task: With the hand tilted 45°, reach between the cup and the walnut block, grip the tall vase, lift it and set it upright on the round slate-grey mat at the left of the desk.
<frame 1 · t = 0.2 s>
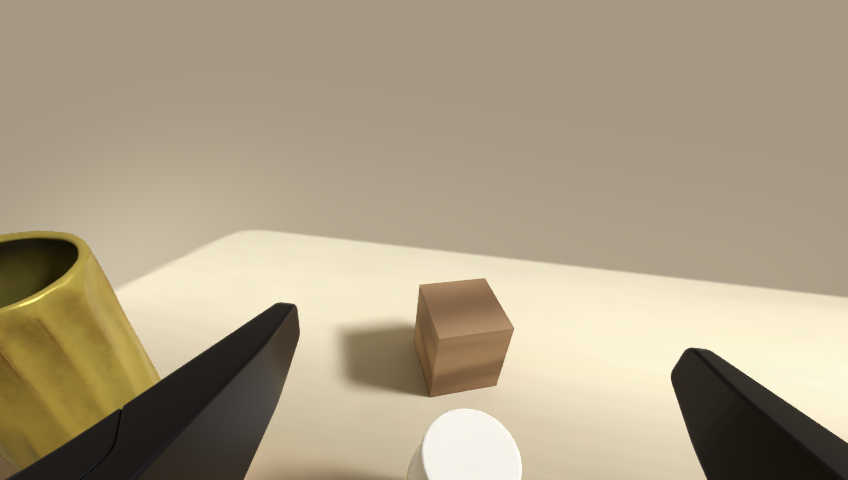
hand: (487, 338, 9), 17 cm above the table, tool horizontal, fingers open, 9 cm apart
walnut block: (452, 362, 28), on the table
vase: (136, 478, 20), on the table
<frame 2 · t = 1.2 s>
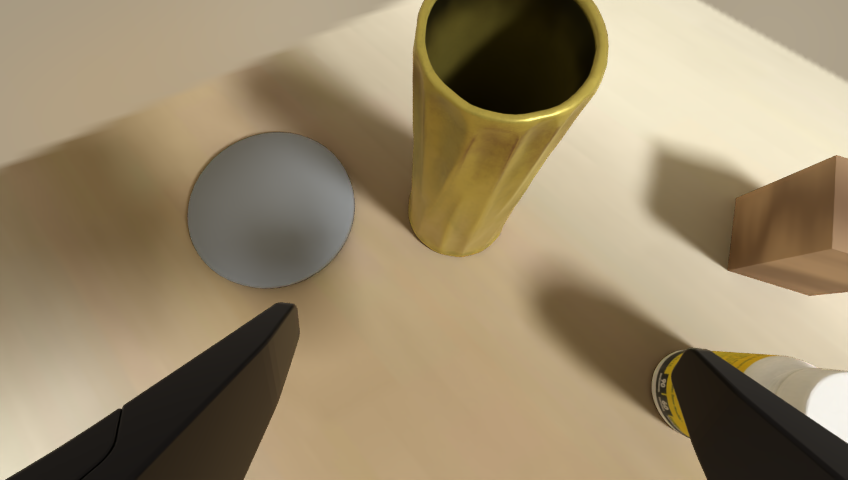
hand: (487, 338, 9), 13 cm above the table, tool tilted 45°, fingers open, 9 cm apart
supplement bottle: (687, 392, 21), on the table
walnut block: (770, 245, 23), on the table
mat: (274, 208, 23), on the table
vase: (455, 211, 24), on the table
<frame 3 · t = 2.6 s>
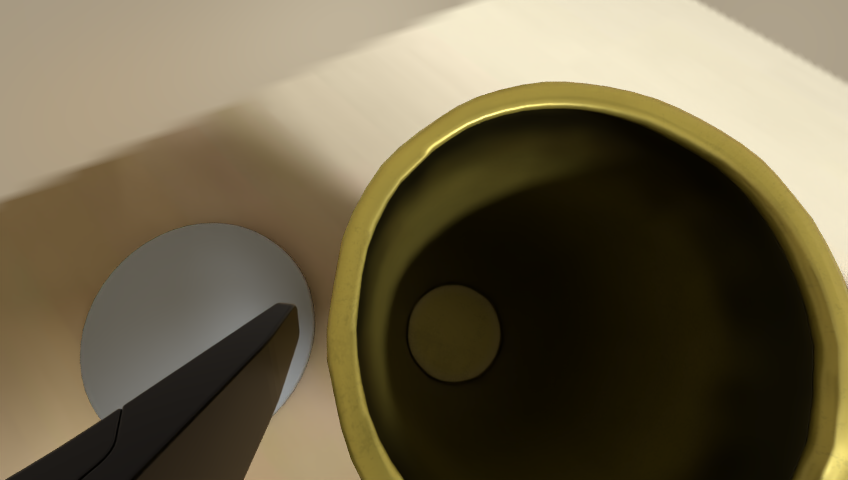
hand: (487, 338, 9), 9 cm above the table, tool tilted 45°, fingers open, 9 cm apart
mat: (205, 330, 17), on the table
vase: (452, 332, 18), on the table
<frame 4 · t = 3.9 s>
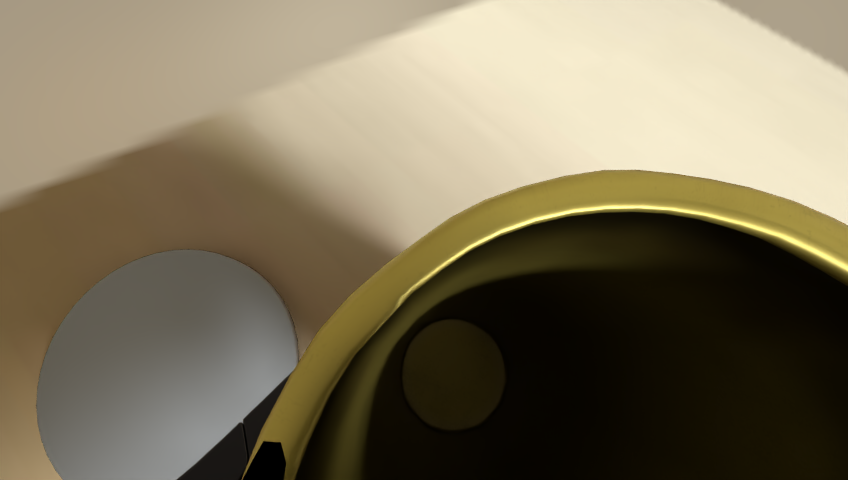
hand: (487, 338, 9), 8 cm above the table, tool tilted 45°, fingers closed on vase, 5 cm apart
mat: (177, 370, 15), on the table
vase: (451, 370, 16), on the table, touching gripper
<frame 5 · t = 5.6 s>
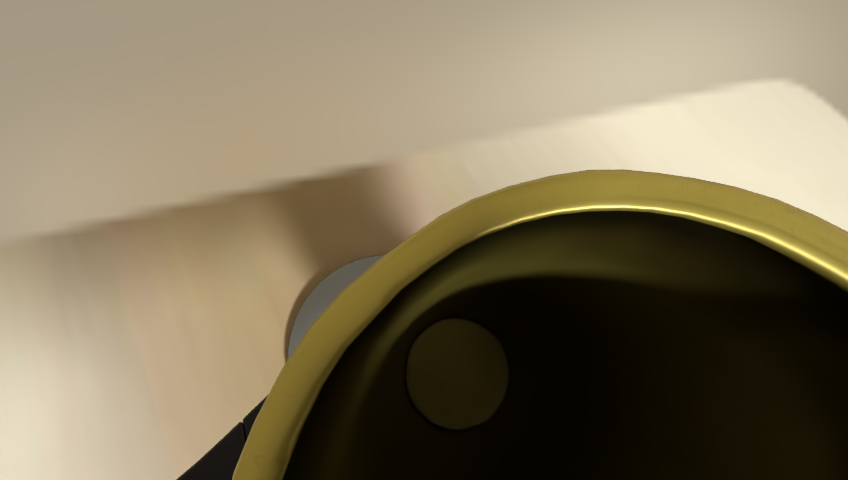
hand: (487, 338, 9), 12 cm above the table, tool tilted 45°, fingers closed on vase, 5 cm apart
mat: (385, 349, 20), on the table
vase: (455, 369, 16), point 4 cm above the table, touching gripper
when the fingers open (9 cm above the table, at t = 7.5 s): vase stays where it is, resting on mat.
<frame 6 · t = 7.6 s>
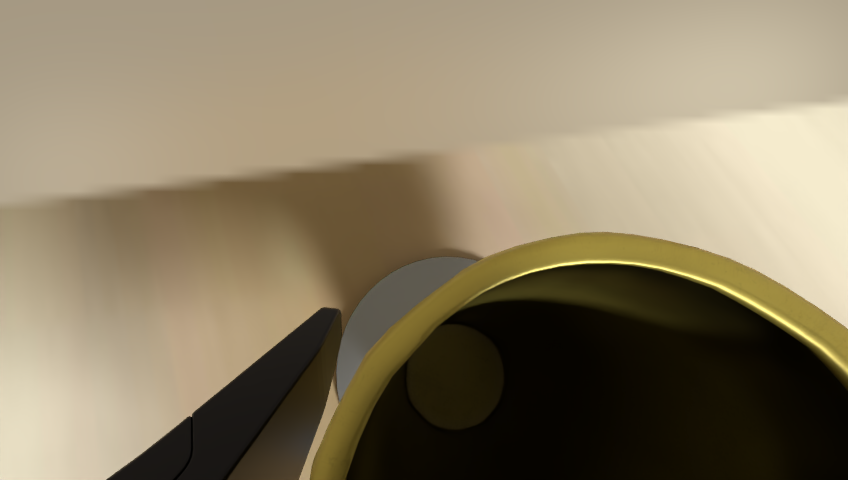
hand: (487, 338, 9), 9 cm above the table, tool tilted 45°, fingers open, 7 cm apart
mat: (448, 366, 17), on the table
vase: (453, 372, 17), resting on mat
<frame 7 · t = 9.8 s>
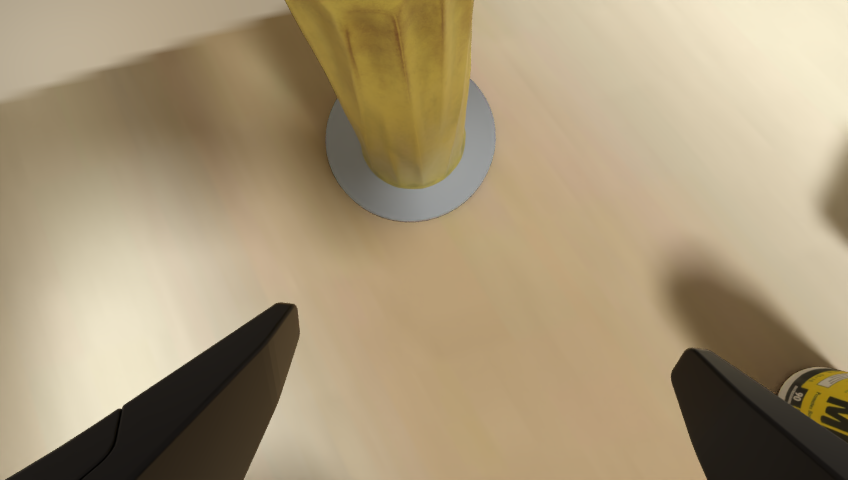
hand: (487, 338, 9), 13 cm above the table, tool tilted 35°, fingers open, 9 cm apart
supplement bottle: (814, 410, 20), on the table
mat: (410, 140, 22), on the table
vase: (413, 140, 22), resting on mat
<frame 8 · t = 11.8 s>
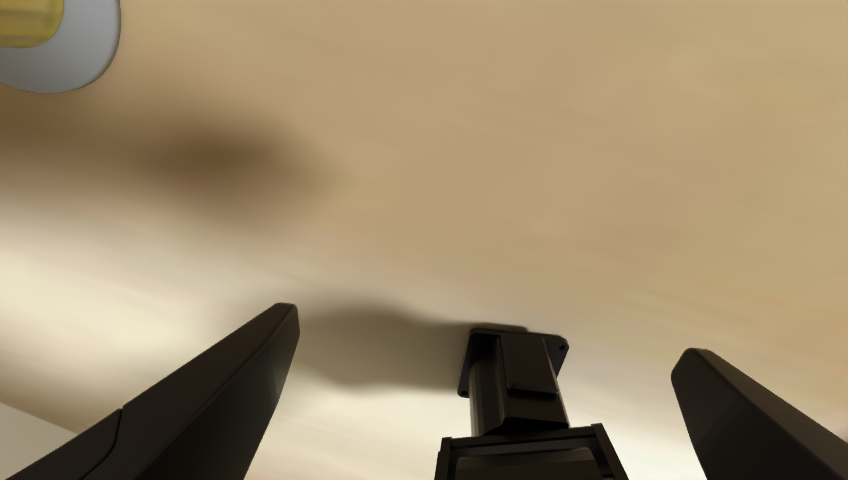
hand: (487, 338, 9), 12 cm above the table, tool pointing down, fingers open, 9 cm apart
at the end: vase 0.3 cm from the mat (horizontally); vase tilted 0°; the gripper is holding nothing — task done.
